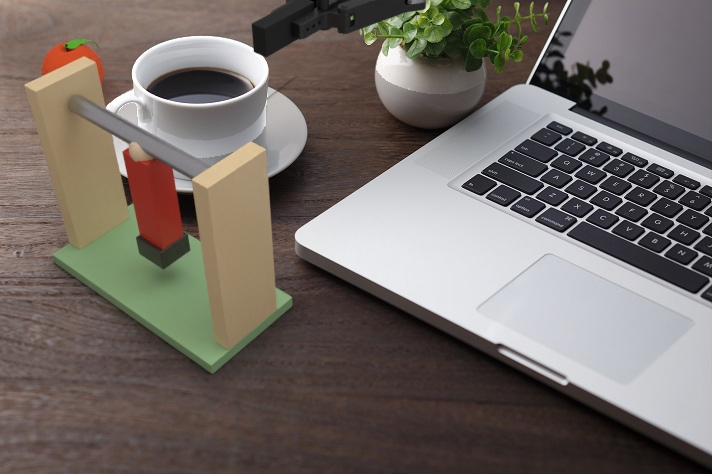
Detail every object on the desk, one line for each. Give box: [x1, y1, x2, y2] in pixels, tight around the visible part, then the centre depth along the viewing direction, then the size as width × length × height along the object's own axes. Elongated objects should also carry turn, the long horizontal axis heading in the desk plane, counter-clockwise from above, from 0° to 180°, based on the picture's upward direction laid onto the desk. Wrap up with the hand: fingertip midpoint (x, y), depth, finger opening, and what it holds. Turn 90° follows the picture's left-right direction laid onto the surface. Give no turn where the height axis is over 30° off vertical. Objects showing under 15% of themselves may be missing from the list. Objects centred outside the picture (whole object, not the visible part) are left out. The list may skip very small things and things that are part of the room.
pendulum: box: [68, 94, 213, 270], centre depth 69 cm, size 17×3×13 cm, turn 52°
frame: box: [23, 57, 293, 375], centre depth 69 cm, size 21×10×18 cm, turn 52°
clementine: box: [40, 38, 105, 87], centre depth 96 cm, size 8×7×7 cm
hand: (259, 40), depth 71 cm, fingers closed
